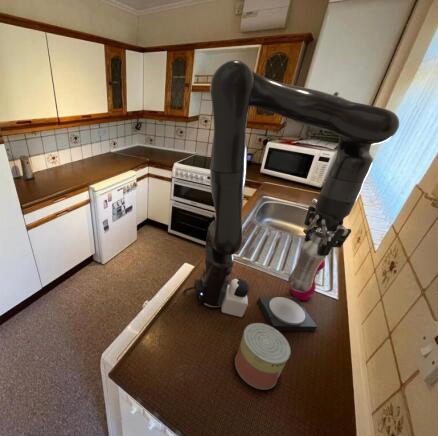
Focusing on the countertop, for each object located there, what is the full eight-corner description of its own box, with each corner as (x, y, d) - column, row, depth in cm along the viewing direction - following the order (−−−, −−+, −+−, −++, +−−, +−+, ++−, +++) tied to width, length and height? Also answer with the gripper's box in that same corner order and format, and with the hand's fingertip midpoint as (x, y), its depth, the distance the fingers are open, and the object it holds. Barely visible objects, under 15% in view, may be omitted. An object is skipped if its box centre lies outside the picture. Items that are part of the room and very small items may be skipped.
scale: (271, 330, 78) (274, 324, 77) (257, 301, 89) (259, 295, 87) (314, 331, 78) (318, 325, 77) (295, 302, 89) (297, 296, 87)
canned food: (274, 399, 61) (288, 373, 55) (230, 374, 66) (238, 347, 60) (279, 361, 69) (292, 335, 63) (240, 342, 74) (248, 316, 69)
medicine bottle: (240, 302, 89) (250, 279, 83) (242, 318, 83) (253, 294, 77) (221, 297, 90) (229, 273, 84) (221, 312, 84) (230, 288, 78)
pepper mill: (313, 303, 88) (335, 260, 79) (292, 300, 90) (311, 258, 80) (306, 289, 95) (325, 248, 85) (287, 286, 96) (303, 245, 86)
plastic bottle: (306, 283, 78) (329, 231, 68) (311, 298, 72) (337, 243, 63) (284, 278, 80) (304, 227, 70) (287, 292, 74) (310, 238, 65)
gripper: (307, 184, 67) (289, 234, 75) (343, 206, 54) (317, 264, 62) (334, 184, 67) (313, 234, 75) (376, 207, 54) (345, 264, 62)
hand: (314, 247), depth 68 cm, fingers closed on plastic bottle, 6 cm apart
